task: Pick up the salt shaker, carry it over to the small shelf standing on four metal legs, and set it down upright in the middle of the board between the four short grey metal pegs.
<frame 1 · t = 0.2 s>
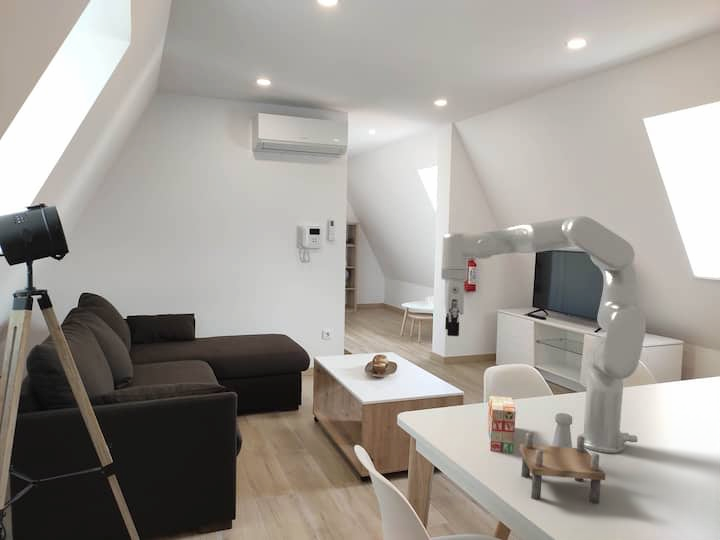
hand: (451, 332, 157), 31 cm above the table, tool pointing down, fingers open, 9 cm apart
salt shaker: (561, 462, 143), on the table
shelf: (558, 488, 128), on the table
stack of blocks: (499, 439, 159), on the table
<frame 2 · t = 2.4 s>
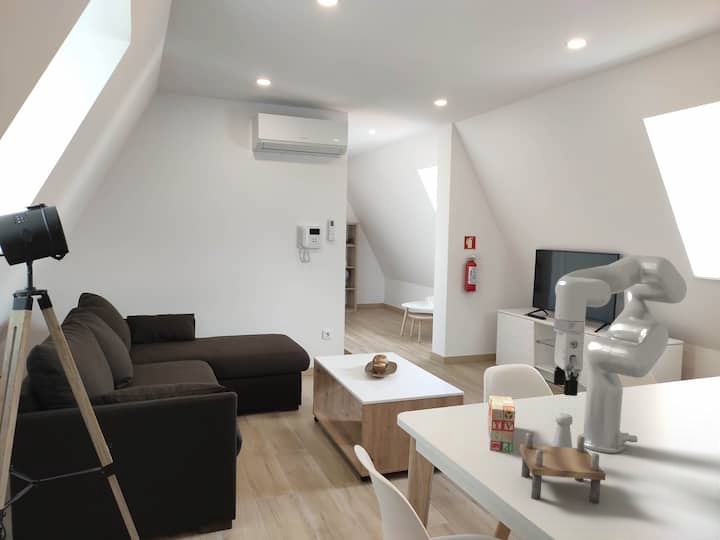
hand: (564, 389, 142), 20 cm above the table, tool pointing down, fingers open, 9 cm apart
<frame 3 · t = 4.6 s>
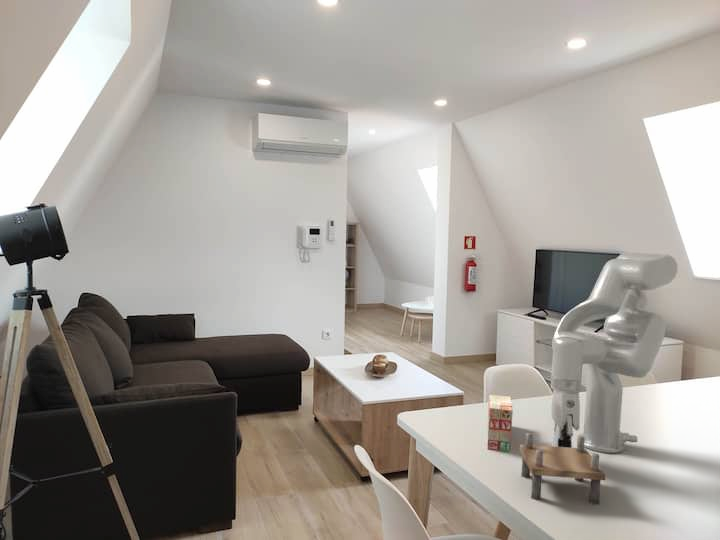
hand: (561, 450, 143), 3 cm above the table, tool pointing down, fingers closed on salt shaker, 3 cm apart
salt shaker: (561, 462, 143), on the table, touching gripper
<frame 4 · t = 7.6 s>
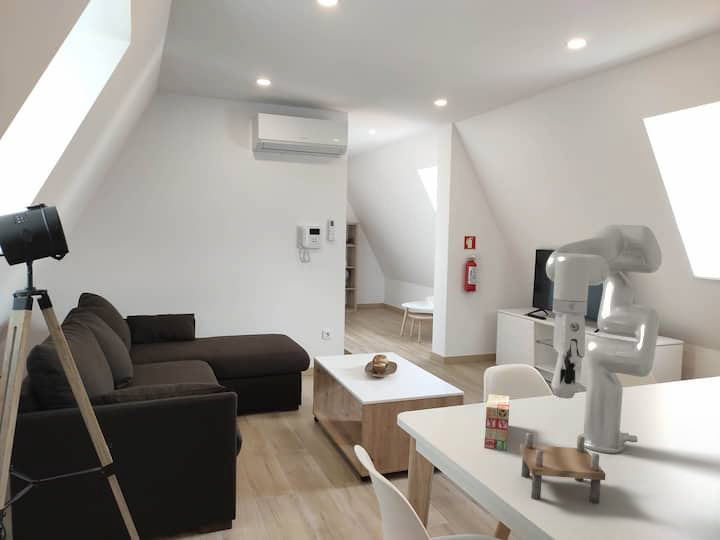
hand: (564, 383, 127), 26 cm above the table, tool pointing down, fingers closed on salt shaker, 3 cm apart
salt shaker: (563, 396, 127), point 22 cm above the table, touching gripper
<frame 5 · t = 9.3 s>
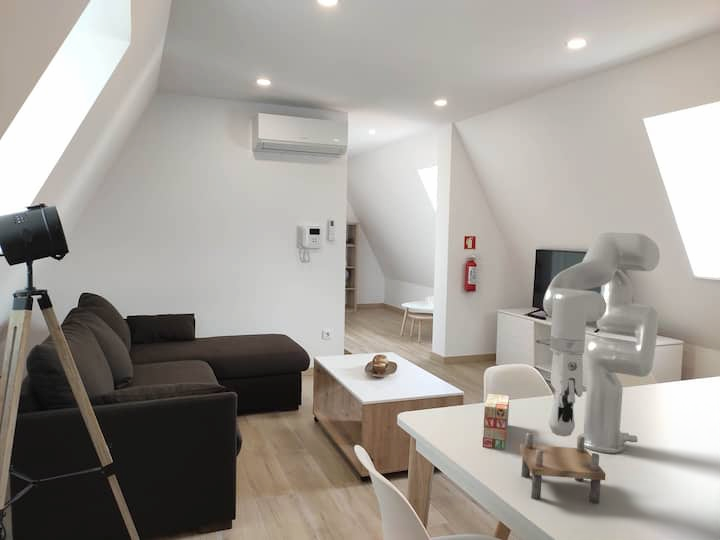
hand: (562, 420, 126), 17 cm above the table, tool pointing down, fingers closed on salt shaker, 3 cm apart
salt shaker: (561, 433, 127), point 13 cm above the table, touching gripper
when the fingers open (12 cm above the table, at t = 10.5 s): salt shaker drops 1 cm, resting on shelf.
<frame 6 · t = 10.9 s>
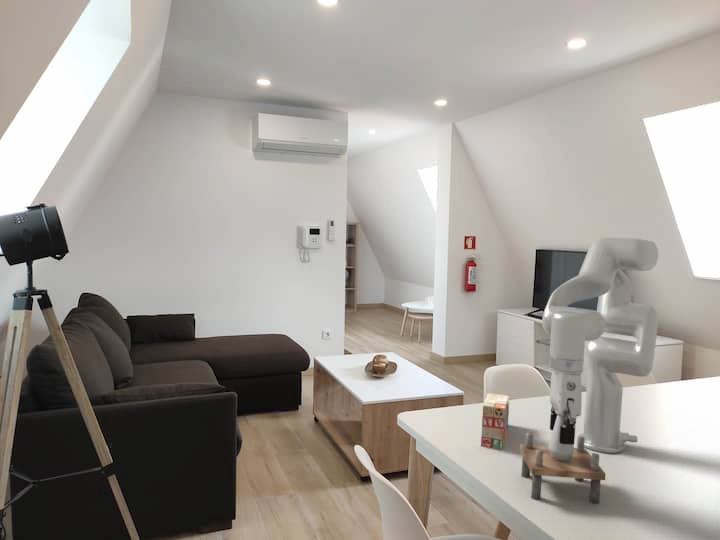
hand: (561, 436, 127), 13 cm above the table, tool pointing down, fingers open, 7 cm apart
salt shaker: (560, 458, 127), point 7 cm above the table, touching shelf
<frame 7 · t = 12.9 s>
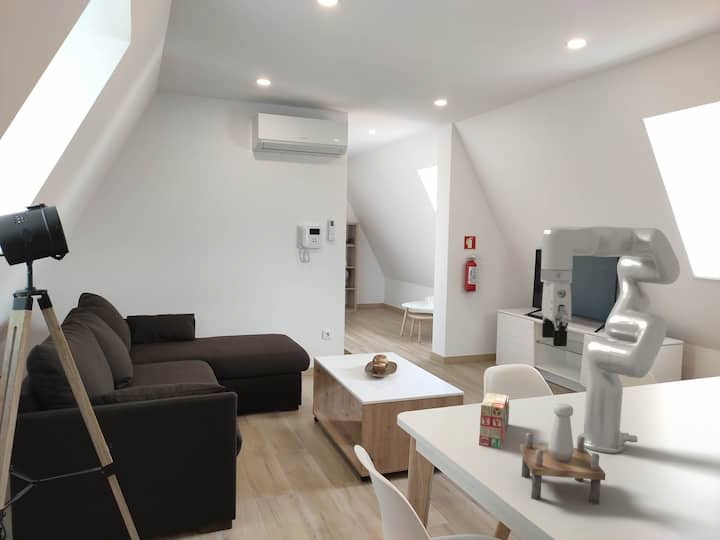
hand: (553, 341, 138), 33 cm above the table, tool pointing down, fingers open, 9 cm apart
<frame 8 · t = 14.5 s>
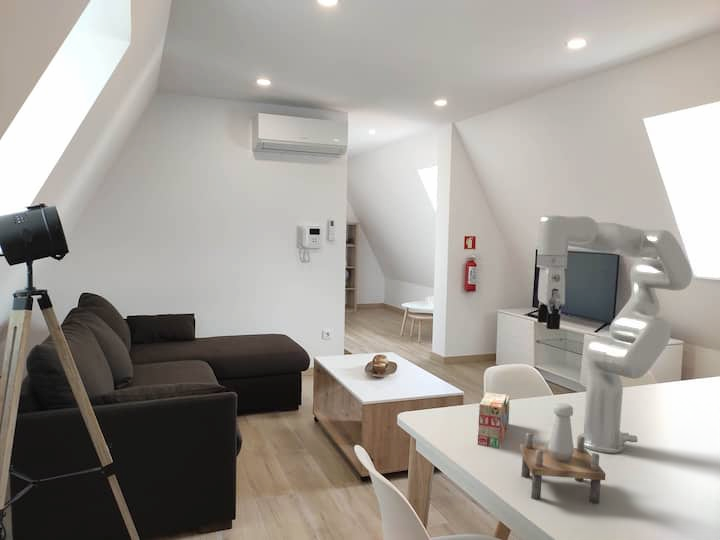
hand: (548, 325, 143), 36 cm above the table, tool pointing down, fingers open, 9 cm apart
at the end: salt shaker 0.2 cm off-centre on the shelf, point 7.3 cm above the shelf's base; salt shaker tilted 0°; the gripper is holding nothing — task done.
